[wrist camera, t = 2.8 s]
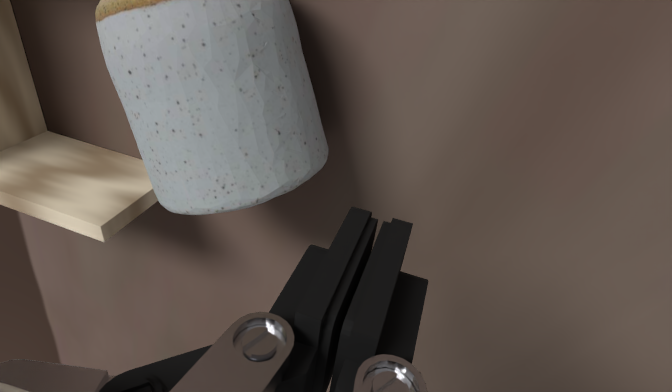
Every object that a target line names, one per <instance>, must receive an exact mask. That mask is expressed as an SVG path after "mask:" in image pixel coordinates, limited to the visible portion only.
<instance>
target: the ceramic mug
mask: <svg viewBox="0 0 672 392" xmlns="http://www.w3.org/2000/svg"><path fill="white" fill-rule="evenodd" d="M95 17H96V26H97V30H98V35H99V39H100V44H101V48H102V51H103V55H104V58H105V62H106V66H107V68H108V71H109V73H110V76H111V78H112V81H113V83H114V86H115V88H116V90H117V93H118V95H119V97H120V100H121V102H122V104H123V107H124V109H125V112H126V115H127V118H128V120H129V123H130V126H131V129H132V131H133V134H134V137H135V140H136V142H137V145H138V148H139V151H140V154H141V156H142V159H143V162H144V165H145V168H146V170H147V173H148V176H149V179H150V181H151V184H152V187H153V190H154V192H155V194H156V197H157V199H158V201H159V203H160V204H161V205H162V206H163V207H164V208H165V209H167V210H169V211H171V212H173V213H179V214H186V215H205V214H213V213H222V212H230V211H235V210H240V209H244V208H249V207H252V206H255V205H258V204H261V203H264V202H266V201H268V200H270V199H273V198H275V197H277V196H280V195H283V194H285V193H287V192H289V191H292V190H294V189H295V188H297V187H298V186H300V185H301V184H303V183H304V182H305V181H307V180H308V179H310V178H311V177H312V176H314V175H315V174H316V173H317V172H318V171H319V170H321V169H322V167H323V166H324V165H325V163H326V161H327V158H328V151H329V148H328V145H327V141H326V138H325V134H324V131H323V127H322V123H321V119H320V115H319V111H318V107H317V103H316V99H315V95H314V91H313V88H312V84H311V80H310V77H309V73H308V70H307V66H306V63H305V59H304V55H303V52H302V47H301V43H300V38H299V33H298V28H297V24H296V21H295V18H294V14H293V11H292V8H291V5H290V2H289V0H100V2H99V4H98V6H97V8H96V12H95Z"/></svg>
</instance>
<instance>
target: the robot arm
mask: <svg viewBox="0 0 672 392" xmlns="http://www.w3.org/2000/svg"><path fill="white" fill-rule="evenodd" d="M371 216H372V212H369V211H366V210H362V209H359V208H355V207H351V209H350V211H349V213H348V215H347V216H346V218H345V220H344V222H343V224H342V226H341V228H340V229H339V231H338V233H337V235H336V237H335V239H334V241H333V242H332V244H331V246H330V248H329V250H328V249H325V248H321V247H318V246H315V245H310V246H309V248H308V249H307V250H306V252H305V254H304V255H303V257H302V259H301V260H300V262H299V264H298V265H297V267H296V269H295V270H294V272H293V274H292V275H291V277H290V279H289V280H288V282H287V283H286V285H285V287H284V288H283V290H282V292H281V293H280V295H279V297H278V298H277V300H276V302H275V303H274V305H273V307H272V308H271V310H270V312H269V313H266V312H256V313H250V314H247V315H245V316H243V317H241V318H239V319H238V320H237V321H235V322H234V323H233V324H232V325H231V326H230V327H229V328H228V329H227V330H226V331H225V332H224V333H223V334H222V336H221V337H220V338H219V339H218V340H217V341H216V342H215V343H214V344H213V345H210V346H206V347H203V348H200V349H197V350H193V351H190V352H187V353H184V354H181V355H177V356H174V357H171V358H168V359H164V360H161V361H158V362H155V363H152V364H148V365H145V366H142V367H139V368H135V369H132V370H129V371H126V372H124V373H122V374H120V375H117V376H110V375H108V372H107V370H100V369H92V368H85V367H77V366H70V365H62V364H55V363H47V362H39V361H32V360H25V359H20V360H9V361H6V362H3V363H0V392H326V391H327V388H328V385H329V383H330V380H331V377H332V381H331V386H330V391H329V392H427V388H426V383H425V381H424V379H423V377H422V375H421V373H420V372H419V371H418V370H417V369H416V368H415V367H414V366H413V365H412V360H413V355H414V350H415V345H416V340H417V335H418V330H419V325H420V320H421V315H422V310H423V305H424V300H425V295H426V290H427V285H428V280H427V279H424V278H420V277H417V276H414V275H410V274H407V273H404V272H401V271H400V270H401V266H402V262H403V259H404V255H405V251H406V248H407V244H408V240H409V236H410V233H411V229H412V225H413V224H412V223H409V222H405V221H402V220H398V219H394V218H393V219H392V222H391V223H389V222H385V221H384V222H383V224H382V227H381V229H380V232H379V234H378V237H377V239H376V242H375V244H374V247H373V249H372V246H373V241H374V237H375V232H376V227H377V222H378V219H375V218H371ZM371 251H372V252H371Z"/></svg>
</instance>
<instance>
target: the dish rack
mask: <svg viewBox="0 0 672 392" xmlns="http://www.w3.org/2000/svg"><path fill="white" fill-rule="evenodd" d="M157 201H158V199H157V197H156V194H155V192H154V190H153V187H152V184H151V181H150V179H149V176H148V173H147V170H146V168H145V165H144V162H143V160H141V159H138V158H134V157H131V156H128V155H125V154H121V153H118V152H115V151H112V150H108V149H105V148H102V147H99V146H95V145H92V144H89V143H86V142H82V141H79V140H76V139H73V138H69V137H66V136H63V135H60V134H56V133H53V132H50V131H47V127H46V124H45V120H44V117H43V114H42V110H41V107H40V103H39V100H38V96H37V93H36V89H35V86H34V82H33V79H32V75H31V72H30V68H29V65H28V61H27V58H26V54H25V51H24V48H23V44H22V41H21V37H20V34H19V30H18V27H17V23H16V20H15V16H14V13H13V9H12V6H11V2H10V0H0V204H1V205H4V206H6V207H9V208H12V209H15V210H17V211H20V212H23V213H26V214H28V215H31V216H34V217H37V218H39V219H42V220H45V221H48V222H50V223H53V224H56V225H59V226H61V227H64V228H67V229H70V230H72V231H75V232H78V233H80V234H83V235H86V236H89V237H91V238H94V239H97V240H100V241H102V242H105V241H107V240H108V239H109V238H110V237H112V236H113V235H114V234H116V233H117V232H118V231H119V230H121V229H122V228H123V227H125V226H126V225H127V224H129V223H130V222H131V221H132V220H134V219H135V218H136V217H138V216H139V215H140V214H142V213H143V212H144V211H145V210H147V209H148V208H149V207H151V206H152V205H153V204H154V203H156V202H157Z"/></svg>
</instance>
